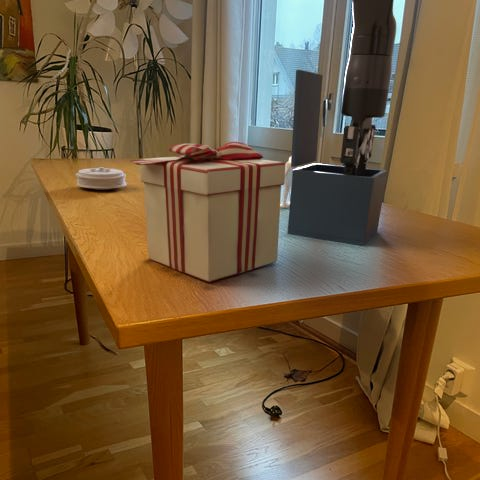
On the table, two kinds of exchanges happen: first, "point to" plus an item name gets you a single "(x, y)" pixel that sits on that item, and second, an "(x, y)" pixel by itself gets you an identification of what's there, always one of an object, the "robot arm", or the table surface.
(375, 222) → the chest
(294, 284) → the table surface
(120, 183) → the lid
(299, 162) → the chest lid
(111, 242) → the table surface
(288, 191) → the figurine
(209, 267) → the gift box
